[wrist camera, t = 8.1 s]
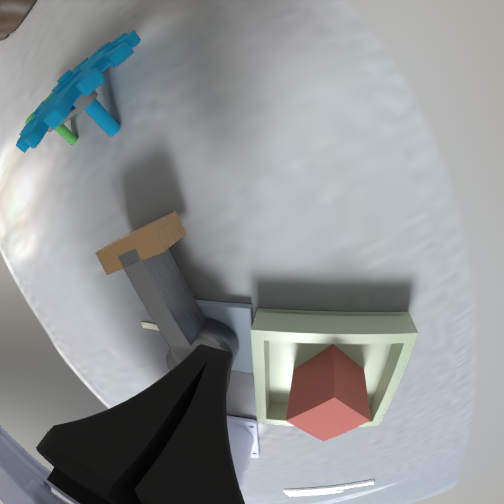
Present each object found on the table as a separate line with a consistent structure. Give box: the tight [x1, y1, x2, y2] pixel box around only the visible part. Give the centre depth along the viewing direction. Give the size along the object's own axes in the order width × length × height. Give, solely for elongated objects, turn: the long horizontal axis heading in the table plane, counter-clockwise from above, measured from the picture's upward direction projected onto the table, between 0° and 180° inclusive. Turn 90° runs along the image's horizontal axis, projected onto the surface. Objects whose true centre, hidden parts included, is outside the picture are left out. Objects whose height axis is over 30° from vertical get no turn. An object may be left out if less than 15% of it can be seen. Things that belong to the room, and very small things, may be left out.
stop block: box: [286, 344, 370, 441], centre depth 17 cm, size 4×4×5 cm
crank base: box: [141, 300, 254, 373], centre depth 21 cm, size 6×10×1 cm, turn 93°
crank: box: [96, 211, 239, 370], centre depth 18 cm, size 12×5×3 cm, turn 23°
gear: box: [16, 31, 141, 153], centre depth 14 cm, size 11×6×10 cm
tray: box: [251, 308, 418, 427], centre depth 19 cm, size 11×11×2 cm
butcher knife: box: [283, 479, 374, 497], centre depth 31 cm, size 5×15×1 cm, turn 114°
